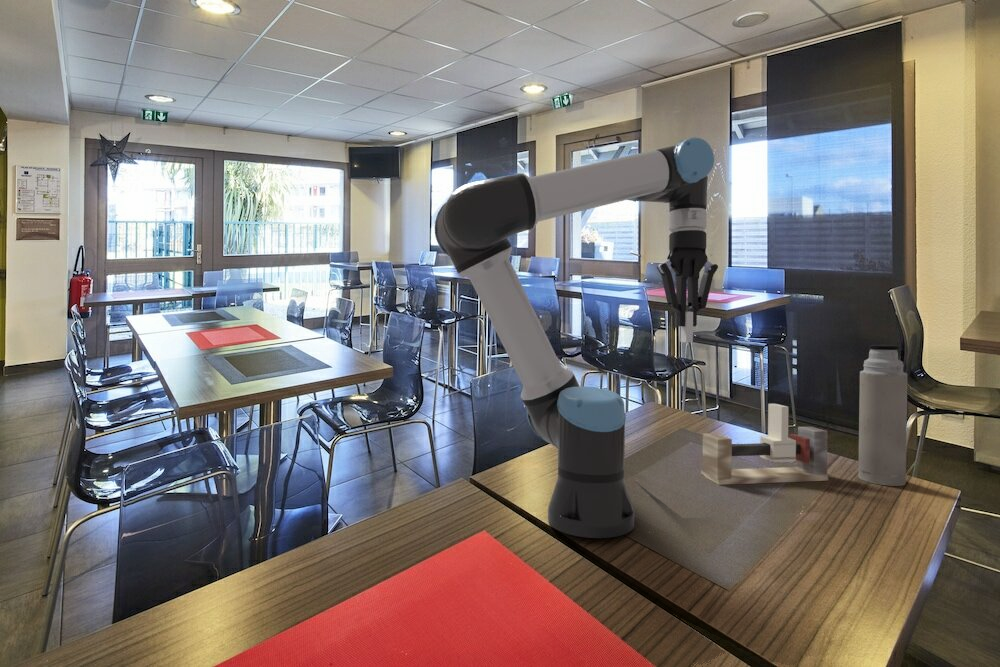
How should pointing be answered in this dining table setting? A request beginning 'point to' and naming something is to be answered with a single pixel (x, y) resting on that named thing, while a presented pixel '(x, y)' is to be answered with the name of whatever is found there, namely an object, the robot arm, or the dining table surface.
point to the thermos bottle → (883, 418)
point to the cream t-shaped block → (779, 436)
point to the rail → (743, 476)
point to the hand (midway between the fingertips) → (686, 342)
